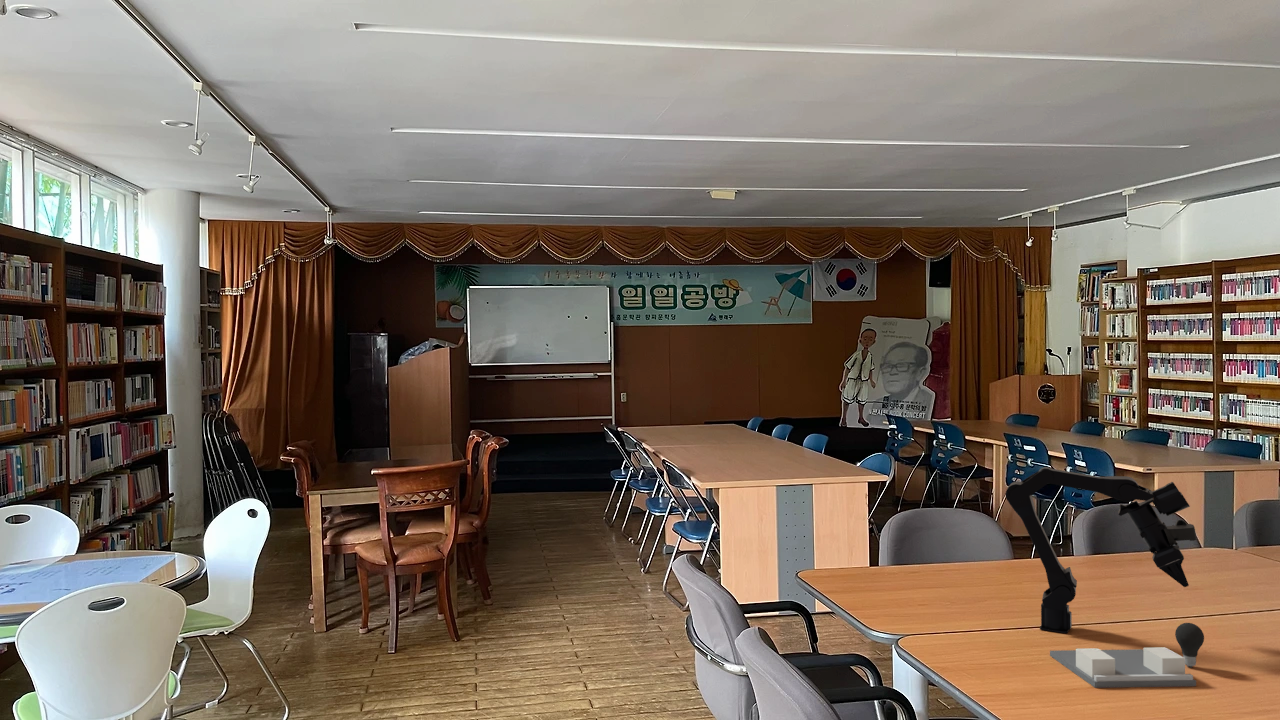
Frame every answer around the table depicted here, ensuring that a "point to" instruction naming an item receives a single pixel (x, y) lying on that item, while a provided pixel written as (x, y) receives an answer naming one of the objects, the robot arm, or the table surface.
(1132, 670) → the board
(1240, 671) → the table surface
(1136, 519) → the robot arm
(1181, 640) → the black light bulb
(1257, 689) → the table surface
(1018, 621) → the table surface
